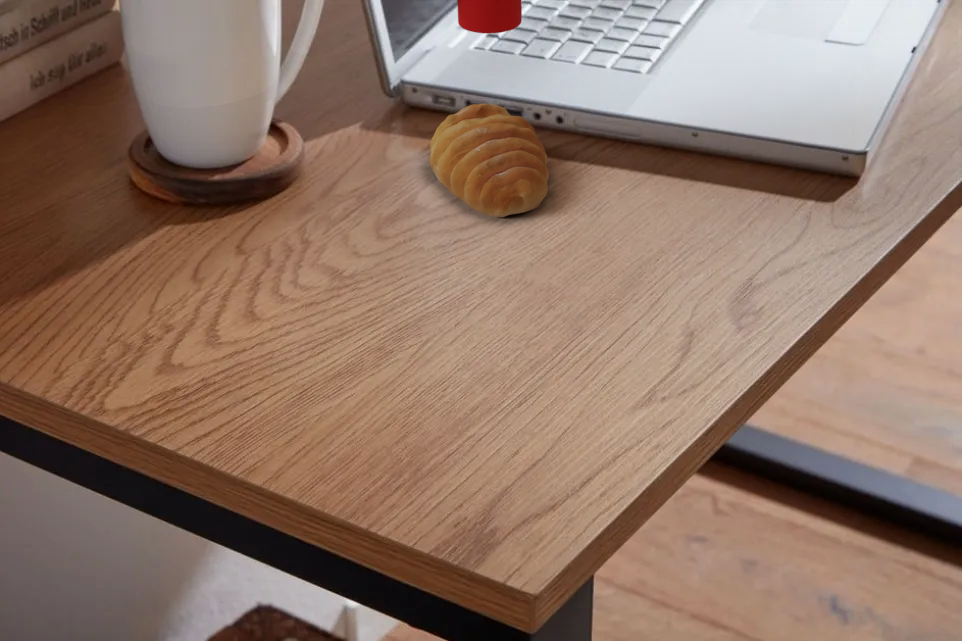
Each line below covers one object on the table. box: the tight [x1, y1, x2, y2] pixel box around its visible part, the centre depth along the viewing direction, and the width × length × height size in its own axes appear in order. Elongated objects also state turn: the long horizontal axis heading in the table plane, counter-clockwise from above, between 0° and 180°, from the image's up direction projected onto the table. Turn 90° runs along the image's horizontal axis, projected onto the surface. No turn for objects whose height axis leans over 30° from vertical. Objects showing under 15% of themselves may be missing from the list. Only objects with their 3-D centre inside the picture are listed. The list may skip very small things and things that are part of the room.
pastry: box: [429, 102, 550, 218], centre depth 80 cm, size 9×7×4 cm
